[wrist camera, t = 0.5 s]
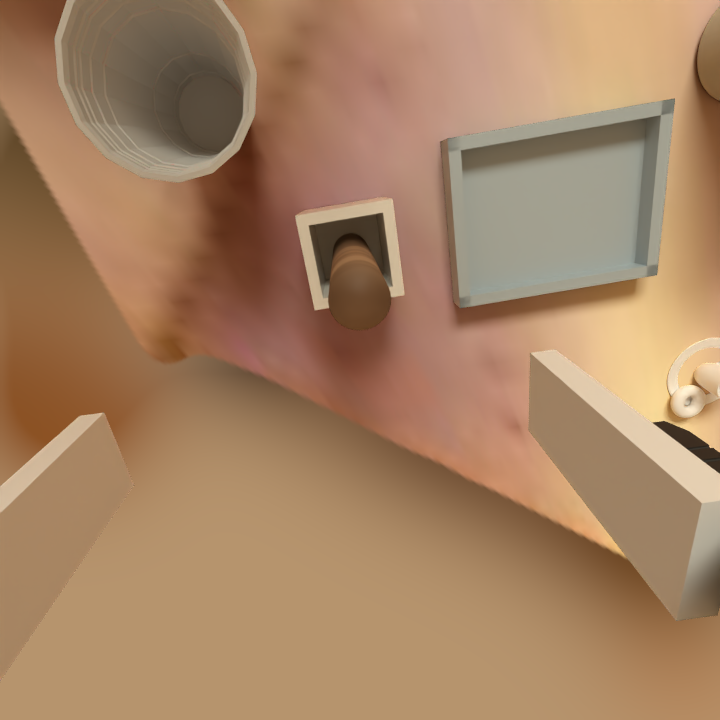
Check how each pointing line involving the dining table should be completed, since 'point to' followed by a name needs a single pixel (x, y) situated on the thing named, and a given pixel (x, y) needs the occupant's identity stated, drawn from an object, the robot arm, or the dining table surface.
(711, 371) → the cream curved piece
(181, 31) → the plastic cup
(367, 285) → the dowel
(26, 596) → the robot arm
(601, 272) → the tray
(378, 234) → the square open box
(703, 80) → the travel mug
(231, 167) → the dining table surface
